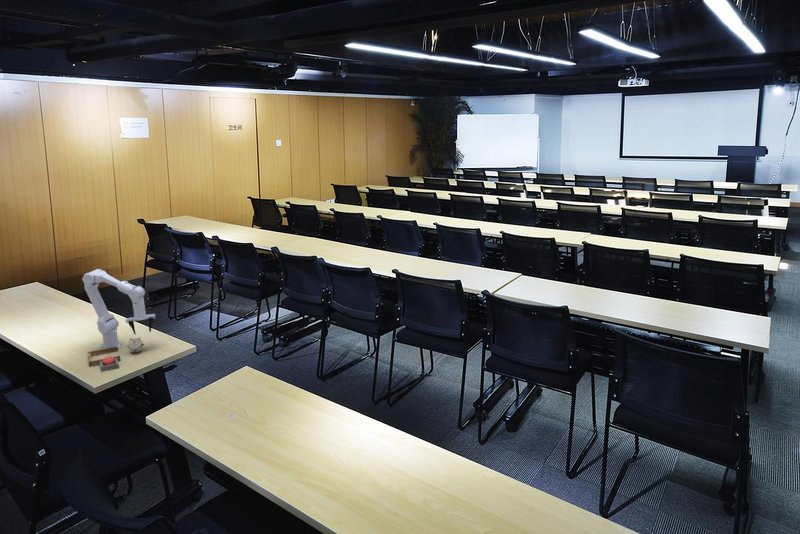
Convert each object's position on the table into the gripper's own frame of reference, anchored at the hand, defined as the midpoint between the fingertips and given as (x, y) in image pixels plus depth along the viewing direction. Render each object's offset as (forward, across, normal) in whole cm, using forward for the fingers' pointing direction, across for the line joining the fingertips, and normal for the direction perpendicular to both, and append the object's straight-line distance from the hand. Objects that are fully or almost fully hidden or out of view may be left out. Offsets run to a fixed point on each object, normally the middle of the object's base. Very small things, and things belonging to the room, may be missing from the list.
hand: (142, 332), depth 299 cm
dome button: (+8, -18, -16) cm, 25 cm away
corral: (+10, -19, -3) cm, 22 cm away
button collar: (+10, -18, -16) cm, 26 cm away
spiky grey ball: (+10, -4, -2) cm, 11 cm away
